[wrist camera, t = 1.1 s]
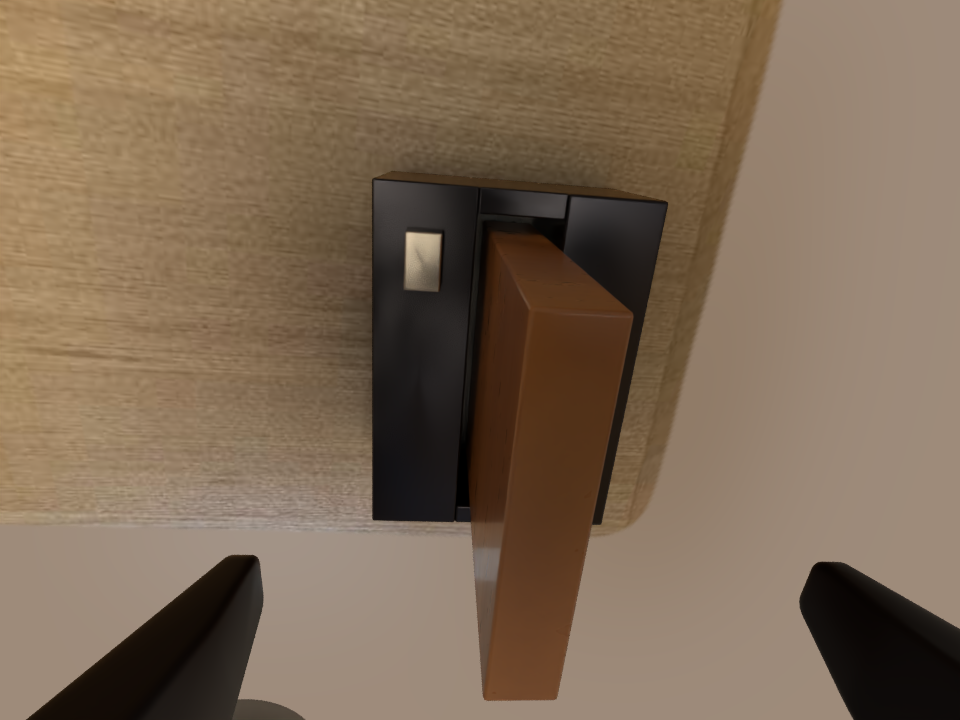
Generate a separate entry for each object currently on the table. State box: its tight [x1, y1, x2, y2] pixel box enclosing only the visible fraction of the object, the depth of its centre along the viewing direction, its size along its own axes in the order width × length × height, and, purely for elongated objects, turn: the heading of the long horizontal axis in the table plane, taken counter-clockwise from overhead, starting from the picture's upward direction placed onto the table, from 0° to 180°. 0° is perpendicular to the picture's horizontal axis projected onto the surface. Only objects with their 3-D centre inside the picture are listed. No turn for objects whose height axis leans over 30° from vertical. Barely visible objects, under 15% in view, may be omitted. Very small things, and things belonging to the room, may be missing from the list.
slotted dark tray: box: [372, 171, 668, 525], centre depth 18 cm, size 8×11×6 cm
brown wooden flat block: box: [466, 221, 633, 701], centre depth 14 cm, size 2×9×10 cm, turn 175°
